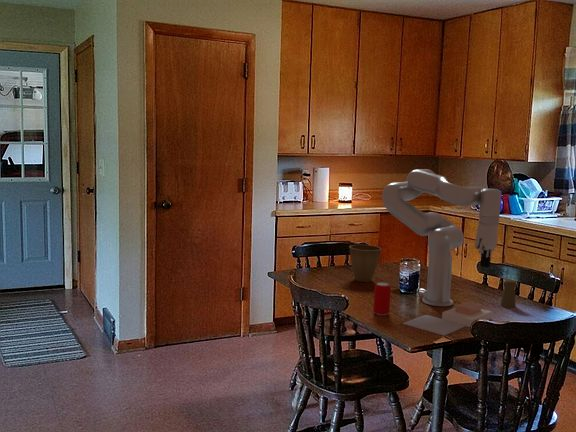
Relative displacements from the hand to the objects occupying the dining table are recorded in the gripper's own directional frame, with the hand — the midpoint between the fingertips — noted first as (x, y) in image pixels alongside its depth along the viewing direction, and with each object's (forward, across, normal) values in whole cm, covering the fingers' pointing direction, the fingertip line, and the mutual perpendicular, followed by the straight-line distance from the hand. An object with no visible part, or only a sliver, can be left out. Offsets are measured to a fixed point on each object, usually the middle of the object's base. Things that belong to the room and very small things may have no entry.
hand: (485, 266), depth 240 cm
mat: (+19, +28, -4) cm, 34 cm away
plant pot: (+19, -6, -62) cm, 66 cm away
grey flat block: (+19, +12, 0) cm, 23 cm away
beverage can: (+19, +32, -26) cm, 45 cm away
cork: (+19, -19, +2) cm, 27 cm away
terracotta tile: (+16, +11, 0) cm, 19 cm away
